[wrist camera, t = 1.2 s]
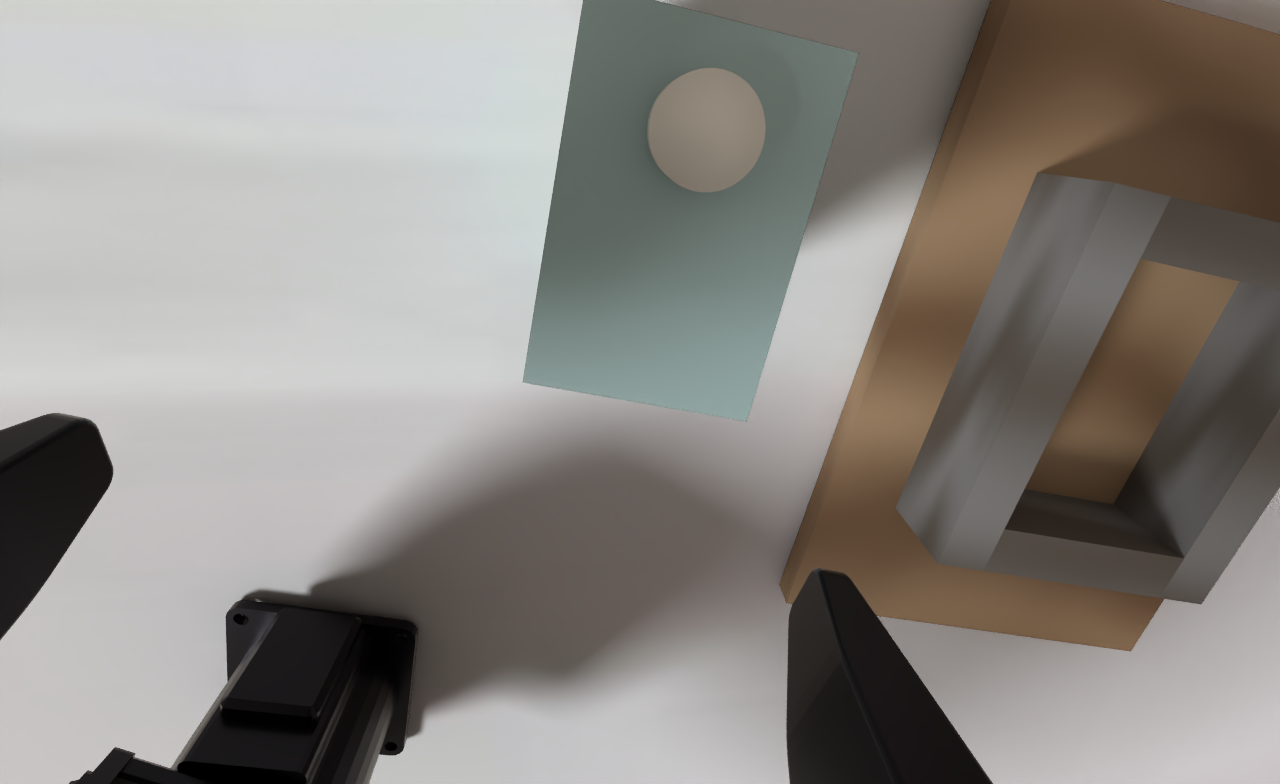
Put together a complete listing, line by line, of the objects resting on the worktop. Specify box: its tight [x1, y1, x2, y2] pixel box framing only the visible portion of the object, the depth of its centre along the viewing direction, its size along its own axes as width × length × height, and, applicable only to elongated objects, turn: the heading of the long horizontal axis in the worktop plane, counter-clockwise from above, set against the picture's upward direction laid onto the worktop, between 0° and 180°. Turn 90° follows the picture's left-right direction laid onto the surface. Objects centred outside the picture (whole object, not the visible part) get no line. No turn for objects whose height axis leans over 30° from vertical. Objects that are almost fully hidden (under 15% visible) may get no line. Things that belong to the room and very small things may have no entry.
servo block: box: [523, 0, 859, 422], centre depth 14 cm, size 6×4×10 cm, turn 168°
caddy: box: [779, 0, 1280, 651], centre depth 20 cm, size 20×14×4 cm
